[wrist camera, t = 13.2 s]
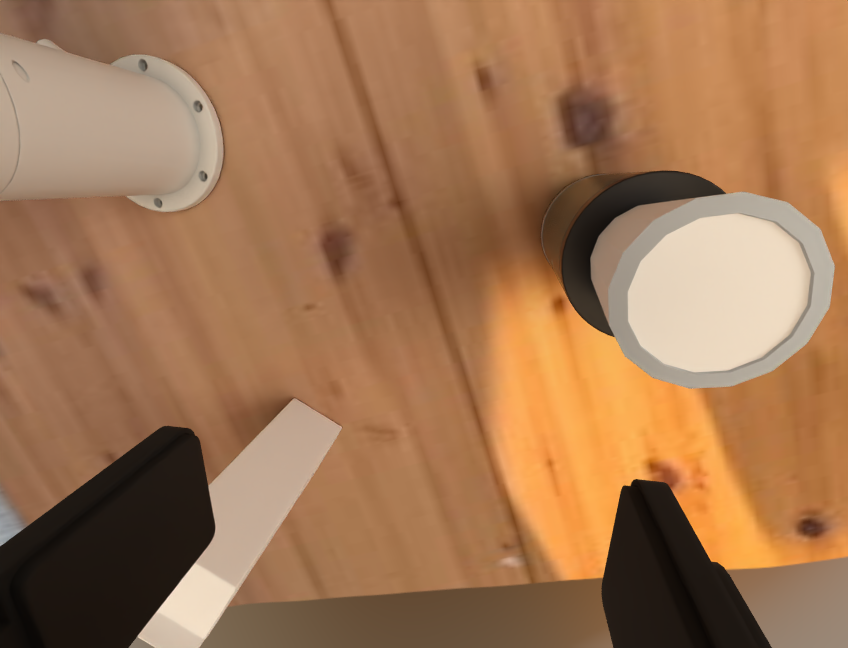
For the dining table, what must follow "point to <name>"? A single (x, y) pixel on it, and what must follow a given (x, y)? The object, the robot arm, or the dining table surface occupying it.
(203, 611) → the milk
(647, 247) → the shot glass
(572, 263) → the green can
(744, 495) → the dining table surface
